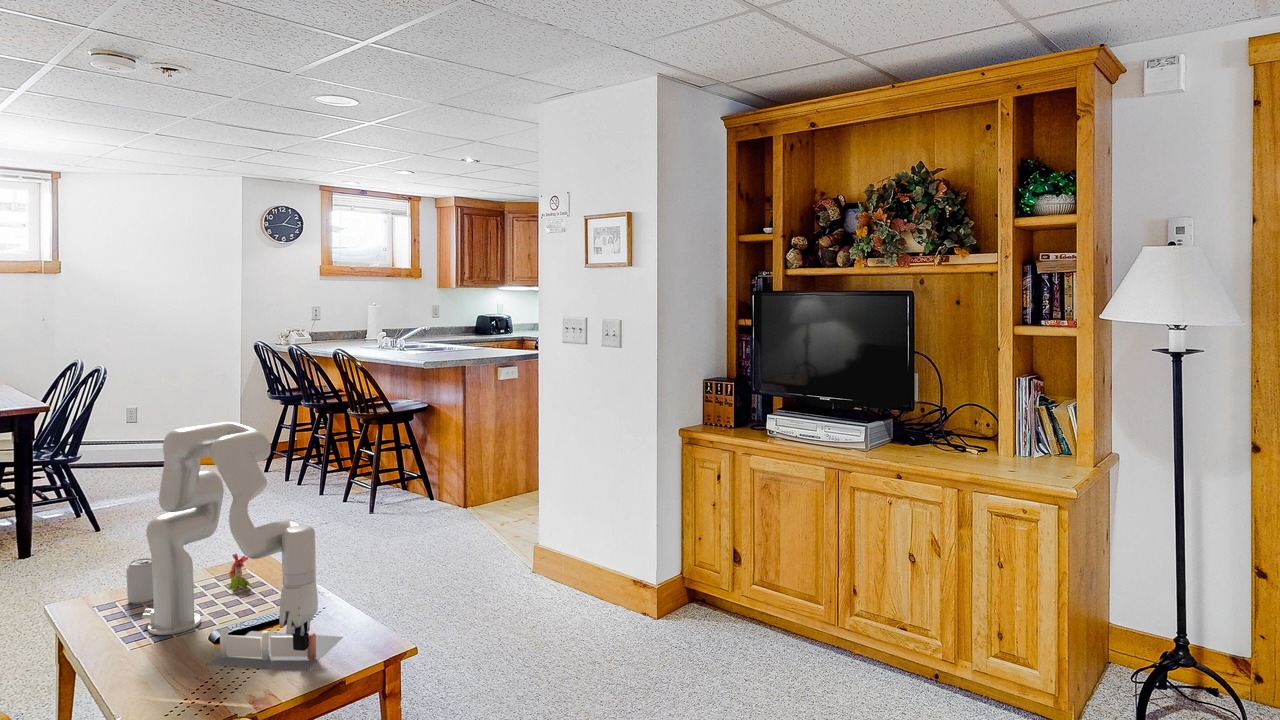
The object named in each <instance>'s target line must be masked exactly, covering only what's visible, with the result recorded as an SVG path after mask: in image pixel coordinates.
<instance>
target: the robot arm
mask: <svg viewBox="0 0 1280 720" xmlns="http://www.w3.org/2000/svg"><path fill="white" fill-rule="evenodd" d="M271 449H272V448H271V443H270V440H269V439H268V437H267V436H266V435H265V434H264V433H263V432H261V431H260V430H258V429H256V428H253V427H250V426H246V425H243V424H240V423H237V422H234V421H223V422H215V423H210V424H203V425H195V426H188V427H182V428H175V429H173V430H171V431H169V432H168V433H167V434H166V436H165V437H164V439H163V443H162V451H163V452H162V453H163V459H164V460H163V470H162V475H161V480H160V486H159V493H158V504H159V507H160V508H161V510H163V511H164V512H166V513H164V514H161V515H159V516H156V517H154V518H153V519H151V521H149V523H147V526H146V529H145V530H146V531H145V532H146V533H145V534H146V535H145V536H146V539H147V543H148V546H149V547H148V548H149V551H150V558H151V559H152V576H153V600H152V601H153V607H152V608H151V607H146V608H145V609H144V611H143V613H142V614H141V618H142V619H147V620H148V619H149V621H150V622H149V623H148V624H147V631H148V633H150V634H152V635H157V636H167V635H175V634H180V633H184V632H187V631H190V630H192V629H194V628H196V627H197V626H198V625H200V623H201V622H202V616H201V615H200V614H199V613H196V612H195V593H194V592H195V591H194V590H195V589H194V567H193V566H194V564H193V559H192V556H191V555H190V554H189V553H188V552H187V550H186V549H185V548H184V547H185V546H186V545H189V544H191V543H196V542H198V541H201V540H206V539H208V538H209V537H211V536H213V535H214V534H215V532H216V531H217V529H218V525H219V521H220V515H221V510H222V505H223V499H224V494H225V492H224V491H225V490H224V484H223V481H224V483H225V485H226V487H227V488H228V490H229V492H230V494H231V496H232V502H231V505H230V508H229V515H228V516H229V517H228V520H229V521H228V523H229V530H230V533H231V535H232V537H233V539H234V540H235V541H234V542H235V543H236V544H237V546H238V548H239V549H240V551H241V552H242V553H243V554H244V555H245V557H248V559H252V560H259V559H263V558H266V557H269V556H272V555H275V554H278V553H281V565H282V566H281V567H282V569H281V572H282V587H281V590H280V591H281V592H280V600H279V619H278V620H279V621H278V622H279V626H280V627H281V628H283V627H285V626H286V628H285V633H286V634H292V635H293V649H294V650H301V651H305V650H306V649H307V648H308V647H309V633H310V629H311V628H310V626H311V621H312V619H314V617H315V616H316V614H317V613H318V608H319V607H318V606H319V601H318V600H319V598H318V597H319V596H318V589H317V564H316V563H317V559H316V555H317V554H316V532H315V529H314V528H313V527H312V526H311V525H307V524H300V523H298V522H297V521H295V520H293V519H288V518H286V519H280V520H277V521H273V522H270V523H266V524H264V525H263V524H262V525H260V526H256V527H255V525H254V523H253V521H252V519H251V518H250V515H249V511H248V509H249V508H248V506H249V504H250V501H253V499H254V498H256V497H257V496H259V495H260V494H261V493H262V492H263V491H264V490H265V488H267V485H268V480H267V477H266V476H265V475H264V473H263V471H262V470H261V468H260V466H259V464H258V463H260V462H263V461H265V460H267V459H268V458H269V456H270V455H271V451H272V450H271ZM203 458H211V460H212V462H213V463H214V465H215V467H216V468H217V471H218V473H219V474H220V475H219V474H218V473H217V472H215V471H212V470H201V460H200V459H203ZM220 476H221V477H220ZM222 479H223V480H222Z"/></svg>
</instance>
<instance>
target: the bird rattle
mask: <svg viewBox="0 0 1280 720" xmlns="http://www.w3.org/2000/svg"><path fill="white" fill-rule="evenodd" d="M232 557H233V559H234V562H233V563H232V566H231V567H230V568H231V569H230V571H229V578H230V584H229V587H228V589H230V590H233V592H235V591H236V590H237V588H238V587H242V588H248V587H251V586H252V585H251V583H250V582H249V580H248V579H246V578H245V577H242V575H243V571H242V569H243V567H245V566H244V563H245V562H246V561H247V560H248V559H249V558H248V557H247V556H246V555H245V554H244V555H242V556H241V557H240V558H239V556H238V553H236V552H235V554H232Z"/></svg>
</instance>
